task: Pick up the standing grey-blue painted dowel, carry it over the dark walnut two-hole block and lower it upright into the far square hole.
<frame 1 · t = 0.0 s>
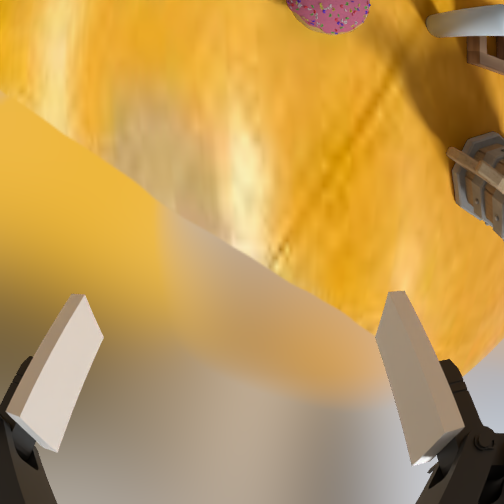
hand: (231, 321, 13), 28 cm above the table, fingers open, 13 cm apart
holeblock: (502, 49, 26), on the table
cupcake: (320, 6, 27), on the table
dowel: (436, 26, 26), on the table
tankard: (469, 162, 36), on the table
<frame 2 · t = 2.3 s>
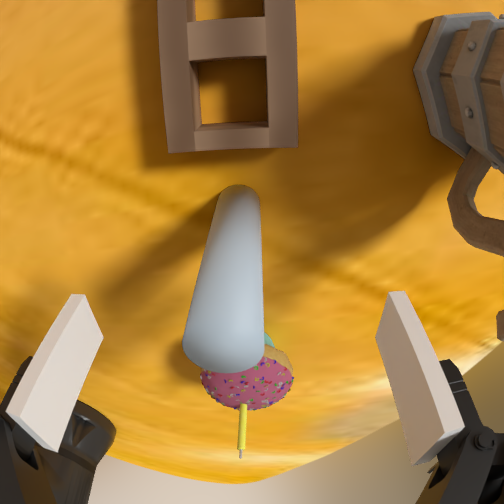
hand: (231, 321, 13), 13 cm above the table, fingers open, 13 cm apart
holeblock: (230, 42, 18), on the table
cupcake: (247, 341, 32), on the table
dowel: (238, 204, 24), on the table
tankard: (463, 122, 20), on the table
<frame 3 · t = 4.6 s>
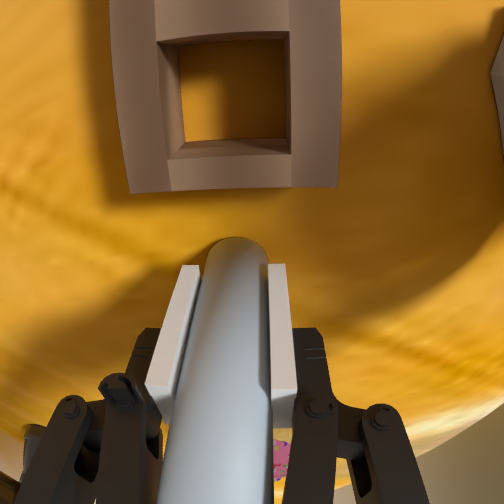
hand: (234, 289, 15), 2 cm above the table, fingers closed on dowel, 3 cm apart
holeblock: (228, 15, 11), on the table
cupcake: (252, 403, 25), on the table
dowel: (237, 264, 17), on the table, touching gripper
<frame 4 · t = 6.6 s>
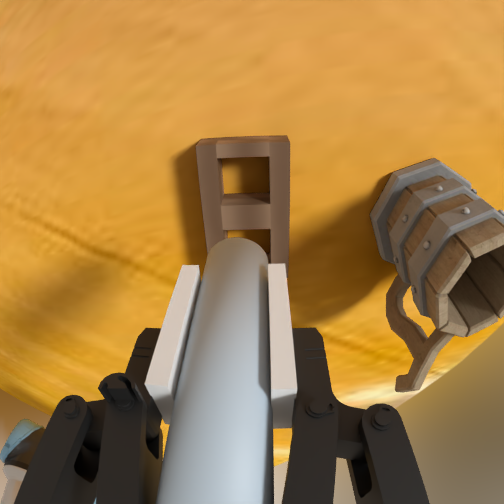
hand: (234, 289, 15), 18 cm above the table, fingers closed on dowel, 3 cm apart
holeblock: (247, 204, 32), on the table
dowel: (237, 264, 17), point 16 cm above the table, touching gripper
tankard: (406, 240, 34), on the table
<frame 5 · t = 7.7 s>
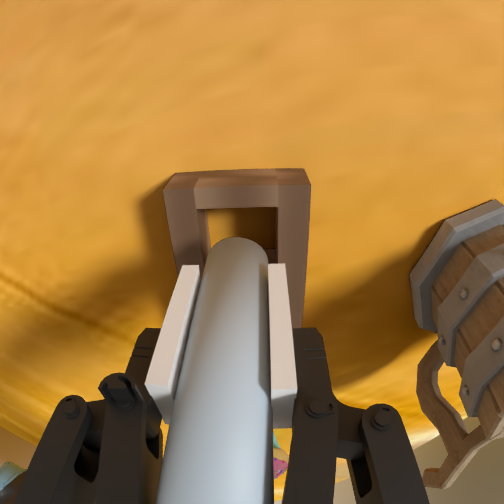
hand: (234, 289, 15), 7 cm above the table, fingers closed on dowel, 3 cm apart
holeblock: (244, 264, 23), on the table
cupcake: (255, 432, 37), on the table
dowel: (237, 264, 17), point 5 cm above the table, touching gripper
tankard: (447, 299, 25), on the table
when the fingers open (4 cm above the table, at t = 8.8 s): dowel drops 1 cm, on the table.
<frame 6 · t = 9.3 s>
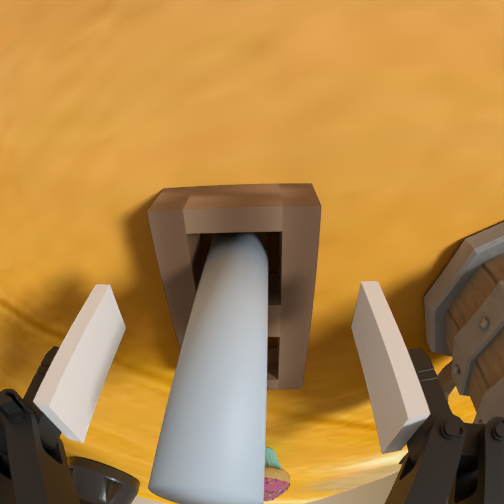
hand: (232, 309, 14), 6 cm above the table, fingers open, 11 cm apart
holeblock: (242, 289, 20), on the table
cupcake: (255, 450, 35), on the table
dowel: (240, 242, 19), on the table
tankard: (461, 320, 22), on the table
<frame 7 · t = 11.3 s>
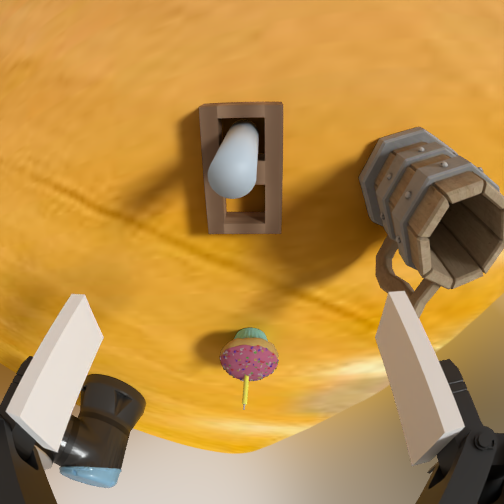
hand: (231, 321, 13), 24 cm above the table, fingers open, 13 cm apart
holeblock: (244, 164, 34), on the table
cupcake: (250, 336, 49), on the table
dowel: (243, 133, 32), on the table
tankard: (394, 205, 36), on the table
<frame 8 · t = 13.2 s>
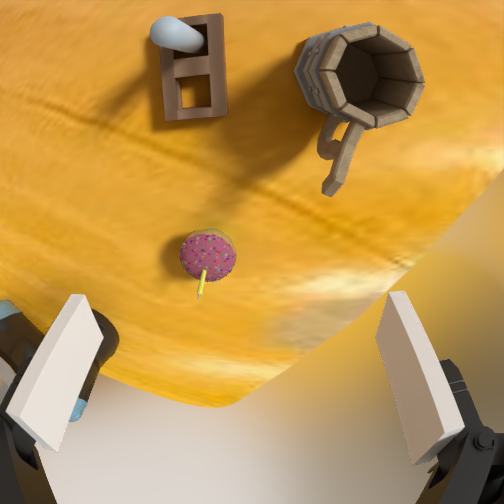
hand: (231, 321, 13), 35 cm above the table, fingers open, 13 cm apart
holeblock: (195, 66, 37), on the table
cupcake: (211, 240, 51), on the table
dowel: (194, 43, 35), on the table
tankard: (332, 96, 39), on the table
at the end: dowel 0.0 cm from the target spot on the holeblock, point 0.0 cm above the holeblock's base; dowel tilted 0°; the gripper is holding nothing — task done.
